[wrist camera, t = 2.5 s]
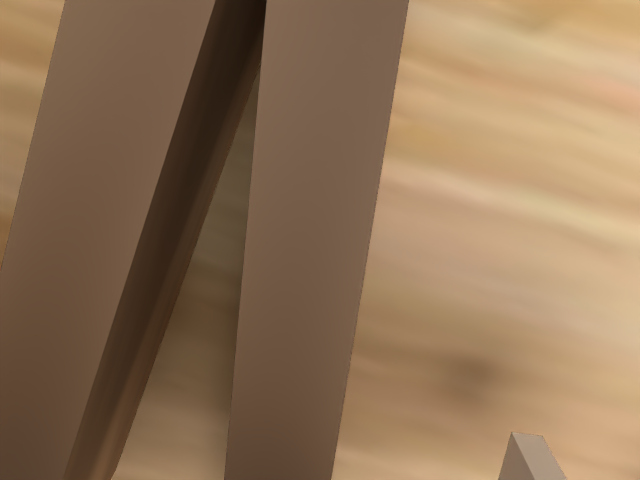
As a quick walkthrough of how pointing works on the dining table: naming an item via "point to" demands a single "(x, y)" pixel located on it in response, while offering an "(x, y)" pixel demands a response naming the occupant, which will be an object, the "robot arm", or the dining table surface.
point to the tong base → (309, 228)
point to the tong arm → (112, 218)
